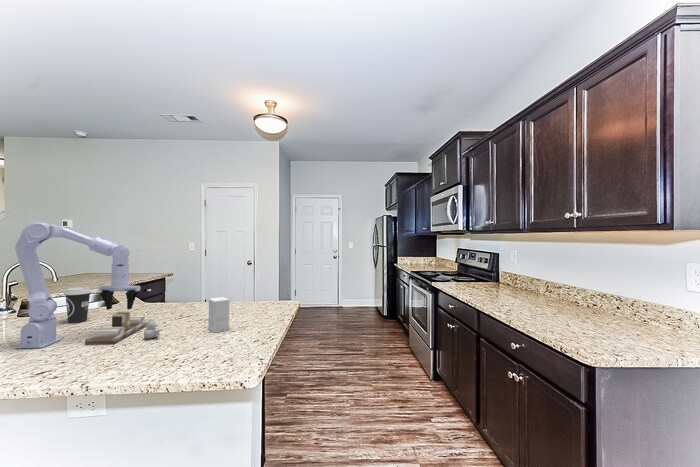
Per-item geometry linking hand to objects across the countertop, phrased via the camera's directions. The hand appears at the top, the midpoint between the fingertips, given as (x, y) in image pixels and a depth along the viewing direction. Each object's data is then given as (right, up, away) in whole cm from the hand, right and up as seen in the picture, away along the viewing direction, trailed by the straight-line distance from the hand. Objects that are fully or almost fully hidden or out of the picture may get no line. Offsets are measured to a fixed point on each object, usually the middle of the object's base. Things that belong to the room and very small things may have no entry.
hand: (119, 309), depth 130 cm
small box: (+37, -11, +7) cm, 39 cm away
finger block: (+1, -9, 0) cm, 9 cm away
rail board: (+1, -10, 0) cm, 10 cm away
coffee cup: (-31, -10, +16) cm, 36 cm away
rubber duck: (+16, -10, -5) cm, 20 cm away
